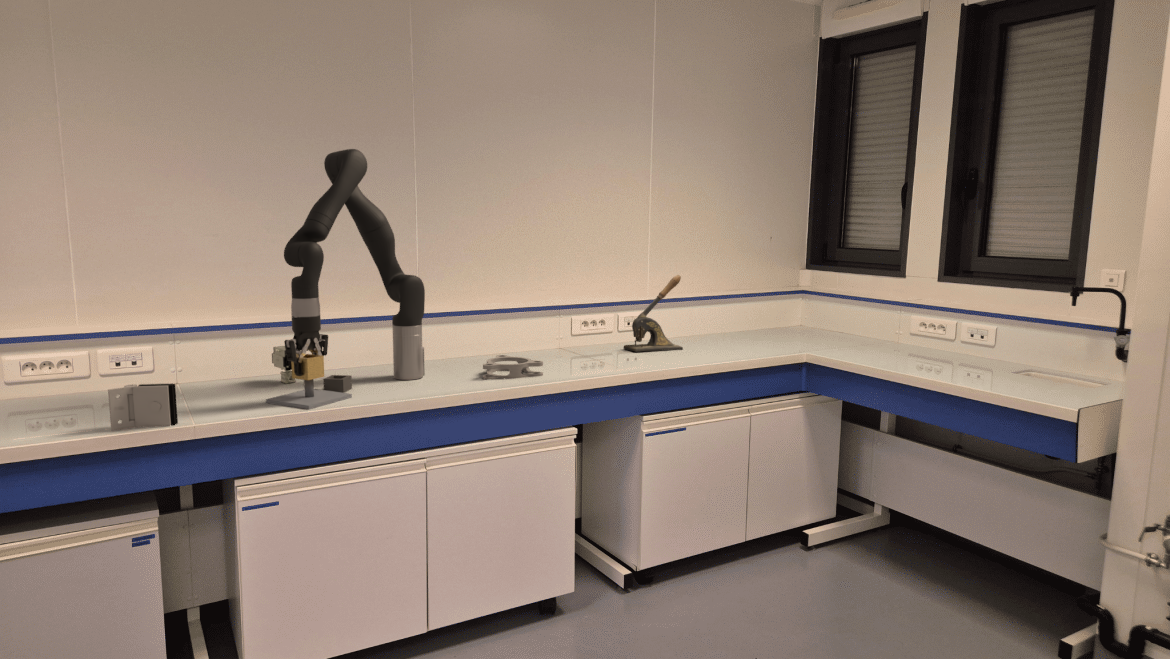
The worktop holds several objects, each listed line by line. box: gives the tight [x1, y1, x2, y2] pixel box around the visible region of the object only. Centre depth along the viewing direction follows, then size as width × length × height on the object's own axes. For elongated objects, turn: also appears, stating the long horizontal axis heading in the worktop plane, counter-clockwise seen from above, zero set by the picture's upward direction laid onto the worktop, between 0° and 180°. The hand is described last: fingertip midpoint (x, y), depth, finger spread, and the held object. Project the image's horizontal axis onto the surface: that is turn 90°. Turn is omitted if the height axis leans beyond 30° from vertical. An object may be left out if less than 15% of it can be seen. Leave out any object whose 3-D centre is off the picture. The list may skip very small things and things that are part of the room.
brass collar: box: [291, 353, 325, 381], centre depth 210 cm, size 6×6×6 cm
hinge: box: [107, 382, 179, 432], centre depth 183 cm, size 14×5×10 cm, turn 113°
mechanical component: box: [482, 354, 544, 380], centre depth 253 cm, size 20×19×5 cm
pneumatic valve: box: [271, 345, 300, 384], centre depth 234 cm, size 6×12×12 cm, turn 45°
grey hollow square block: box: [323, 374, 353, 393], centre depth 224 cm, size 6×6×4 cm
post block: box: [265, 379, 353, 410], centre depth 211 cm, size 16×16×6 cm
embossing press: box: [623, 274, 684, 353], centre depth 302 cm, size 11×24×30 cm, turn 113°
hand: (308, 373), depth 211 cm, fingers closed on brass collar, 6 cm apart
